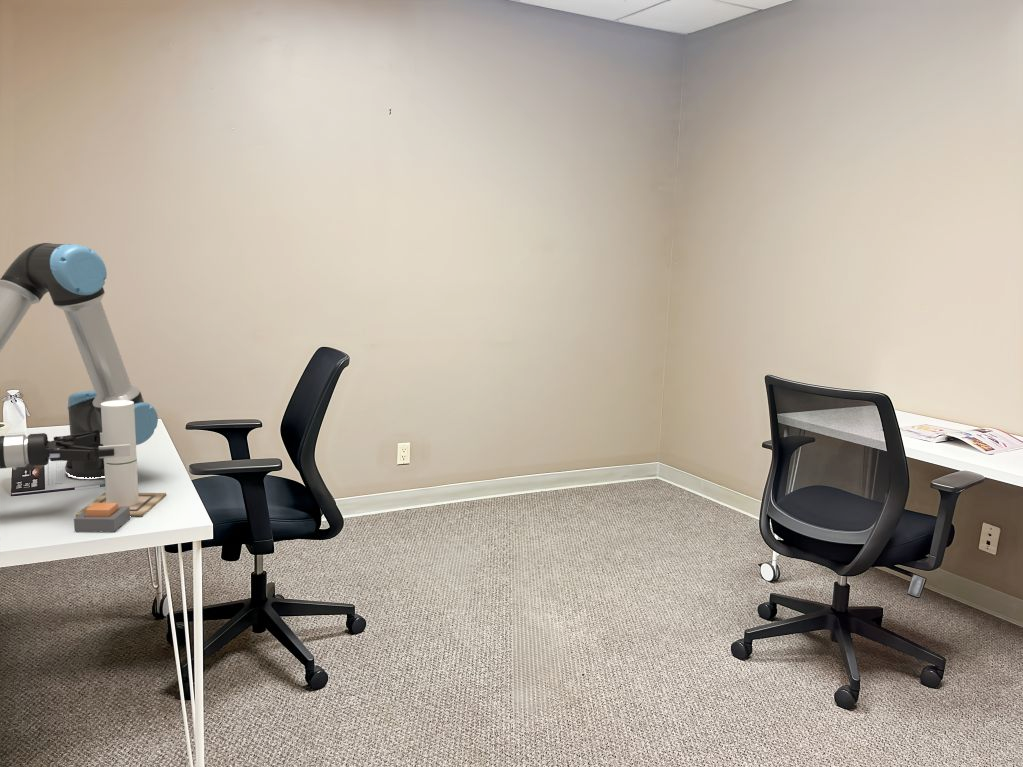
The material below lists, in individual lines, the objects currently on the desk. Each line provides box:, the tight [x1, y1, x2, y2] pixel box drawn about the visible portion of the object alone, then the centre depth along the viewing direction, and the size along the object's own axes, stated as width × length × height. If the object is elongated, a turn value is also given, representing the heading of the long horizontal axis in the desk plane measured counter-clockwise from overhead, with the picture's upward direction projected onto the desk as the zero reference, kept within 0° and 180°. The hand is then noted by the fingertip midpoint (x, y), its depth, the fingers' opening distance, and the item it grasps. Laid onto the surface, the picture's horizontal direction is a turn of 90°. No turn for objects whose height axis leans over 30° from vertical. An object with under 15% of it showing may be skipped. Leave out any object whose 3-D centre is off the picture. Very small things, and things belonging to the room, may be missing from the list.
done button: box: [86, 503, 118, 517], centre depth 179 cm, size 5×5×3 cm
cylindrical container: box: [101, 400, 139, 506], centre depth 190 cm, size 7×7×25 cm
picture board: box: [75, 492, 167, 518], centre depth 193 cm, size 16×15×1 cm
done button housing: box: [73, 506, 131, 533], centre depth 179 cm, size 9×9×3 cm
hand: (129, 443), depth 191 cm, fingers open, 13 cm apart
